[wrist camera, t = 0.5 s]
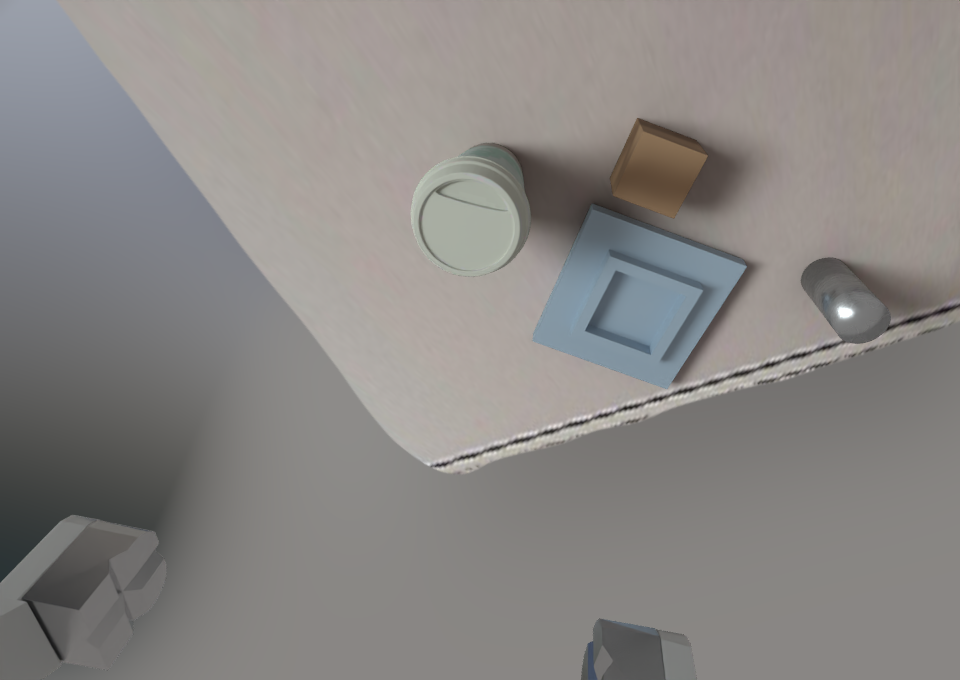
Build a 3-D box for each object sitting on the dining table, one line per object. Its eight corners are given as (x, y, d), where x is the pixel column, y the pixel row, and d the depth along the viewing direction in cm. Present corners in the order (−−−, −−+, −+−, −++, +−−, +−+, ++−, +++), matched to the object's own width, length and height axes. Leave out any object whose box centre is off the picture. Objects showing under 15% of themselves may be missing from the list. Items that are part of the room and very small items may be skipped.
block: (637, 117, 45) (643, 131, 40) (695, 140, 45) (708, 155, 41) (609, 177, 47) (613, 196, 43) (665, 198, 48) (674, 218, 43)
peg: (817, 251, 48) (857, 294, 41) (856, 266, 48) (902, 311, 41) (792, 287, 50) (825, 334, 43) (829, 301, 50) (868, 349, 43)
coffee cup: (560, 179, 48) (555, 231, 38) (489, 243, 52) (467, 305, 42) (489, 102, 46) (463, 134, 35) (420, 175, 50) (379, 223, 39)
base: (591, 203, 49) (592, 215, 46) (742, 259, 49) (751, 273, 47) (533, 333, 56) (531, 349, 54) (665, 380, 57) (669, 398, 54)
